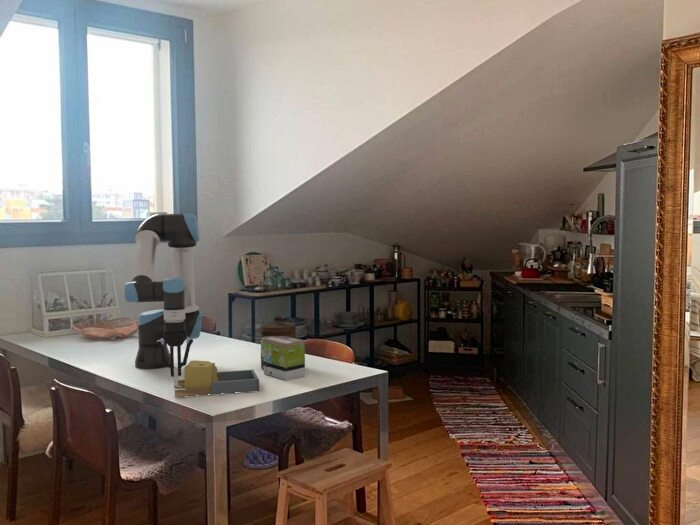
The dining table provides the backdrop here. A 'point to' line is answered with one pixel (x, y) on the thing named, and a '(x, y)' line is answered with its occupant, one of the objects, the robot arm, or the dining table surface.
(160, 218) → the robot arm
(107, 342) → the dining table surface
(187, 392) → the lane rails
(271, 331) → the wooden container
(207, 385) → the cheese
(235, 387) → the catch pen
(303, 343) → the tea box
